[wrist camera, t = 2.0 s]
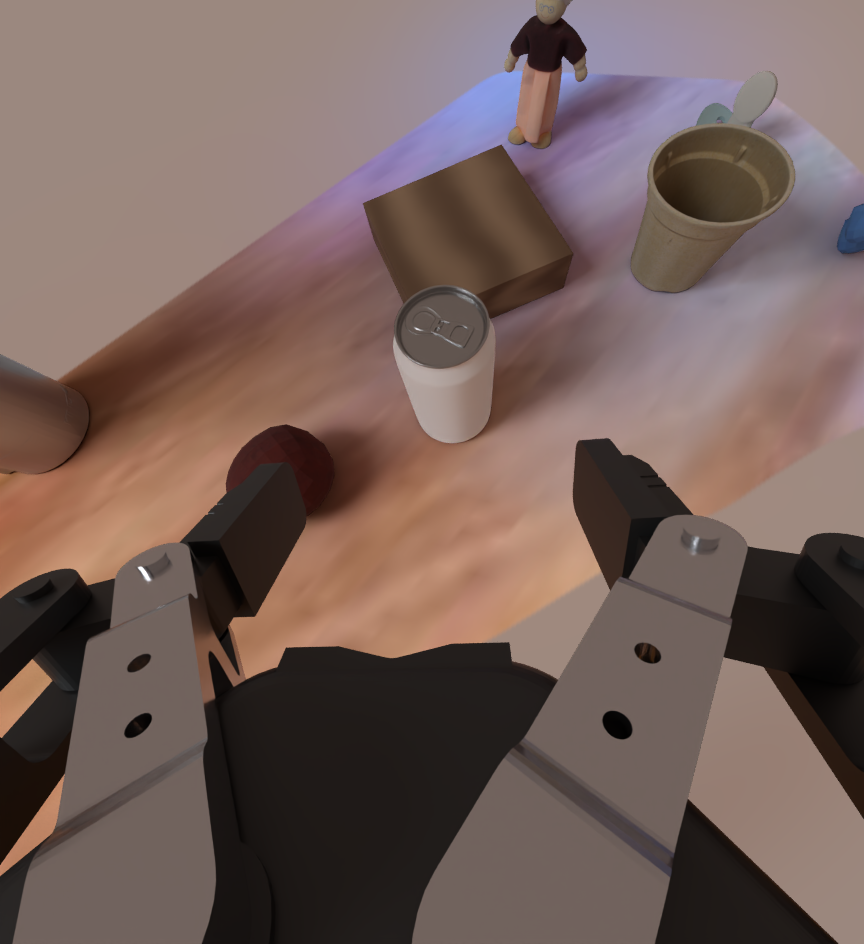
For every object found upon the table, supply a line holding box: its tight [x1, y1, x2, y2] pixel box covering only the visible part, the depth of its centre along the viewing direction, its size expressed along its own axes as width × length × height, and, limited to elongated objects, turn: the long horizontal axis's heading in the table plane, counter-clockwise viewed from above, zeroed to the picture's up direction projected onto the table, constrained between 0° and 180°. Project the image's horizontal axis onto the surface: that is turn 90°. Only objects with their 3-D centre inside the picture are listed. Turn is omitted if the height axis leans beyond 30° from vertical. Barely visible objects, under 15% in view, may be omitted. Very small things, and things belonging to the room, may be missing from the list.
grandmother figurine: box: [504, 0, 587, 149], centre depth 36 cm, size 8×4×13 cm, turn 76°
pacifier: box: [696, 71, 778, 128], centre depth 36 cm, size 7×6×6 cm
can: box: [393, 285, 496, 443], centre depth 29 cm, size 6×6×12 cm
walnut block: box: [363, 145, 573, 319], centre depth 37 cm, size 14×14×4 cm
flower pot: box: [631, 123, 795, 293], centre depth 32 cm, size 9×9×9 cm
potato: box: [226, 424, 334, 516], centre depth 31 cm, size 7×8×7 cm
